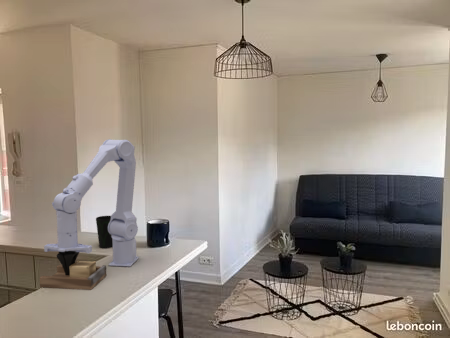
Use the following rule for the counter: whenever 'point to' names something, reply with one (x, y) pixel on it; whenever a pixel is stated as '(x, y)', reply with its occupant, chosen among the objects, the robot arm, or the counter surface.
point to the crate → (82, 269)
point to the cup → (104, 232)
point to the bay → (73, 279)
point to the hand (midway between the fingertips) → (68, 274)
